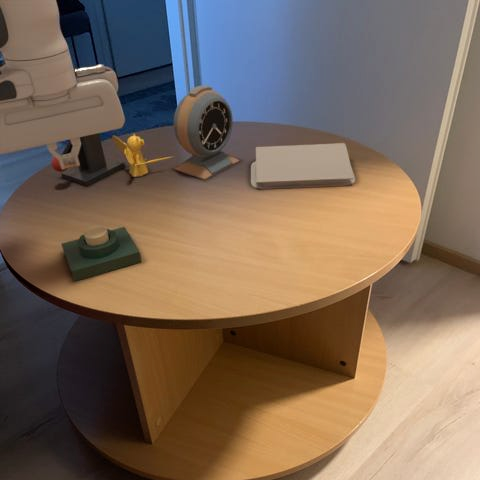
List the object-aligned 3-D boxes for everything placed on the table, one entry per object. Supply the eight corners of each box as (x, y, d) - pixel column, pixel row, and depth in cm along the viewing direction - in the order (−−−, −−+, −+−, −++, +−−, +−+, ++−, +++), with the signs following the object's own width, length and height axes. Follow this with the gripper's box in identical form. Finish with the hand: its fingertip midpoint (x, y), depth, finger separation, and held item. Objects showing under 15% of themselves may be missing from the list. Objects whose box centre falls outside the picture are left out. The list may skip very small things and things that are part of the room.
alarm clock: (201, 181, 114) (192, 100, 102) (171, 171, 119) (160, 92, 107) (242, 159, 122) (238, 81, 110) (213, 150, 127) (206, 75, 115)
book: (251, 160, 121) (250, 144, 119) (347, 156, 120) (348, 140, 117) (250, 189, 110) (250, 172, 107) (357, 185, 108) (359, 168, 106)
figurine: (181, 173, 118) (176, 136, 112) (131, 185, 114) (123, 147, 108) (165, 155, 126) (159, 120, 120) (118, 166, 123) (110, 130, 117)
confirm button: (89, 249, 88) (86, 240, 87) (84, 238, 91) (81, 230, 89) (111, 242, 89) (109, 234, 88) (106, 232, 92) (103, 224, 91)
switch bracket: (87, 186, 115) (72, 130, 107) (62, 177, 119) (45, 123, 111) (125, 167, 122) (113, 112, 114) (100, 159, 126) (87, 106, 118)
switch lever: (66, 176, 113) (55, 167, 110) (56, 173, 115) (45, 163, 111) (95, 127, 114) (85, 116, 111) (85, 124, 116) (74, 114, 113)
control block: (75, 281, 87) (68, 262, 84) (64, 253, 94) (58, 234, 91) (141, 261, 90) (137, 242, 88) (126, 236, 97) (122, 218, 95)
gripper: (108, 57, 77) (127, 145, 87) (-32, 82, 72) (3, 174, 81) (118, 66, 73) (137, 158, 82) (-30, 93, 67) (8, 189, 76)
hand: (70, 166), depth 81 cm, fingers closed
